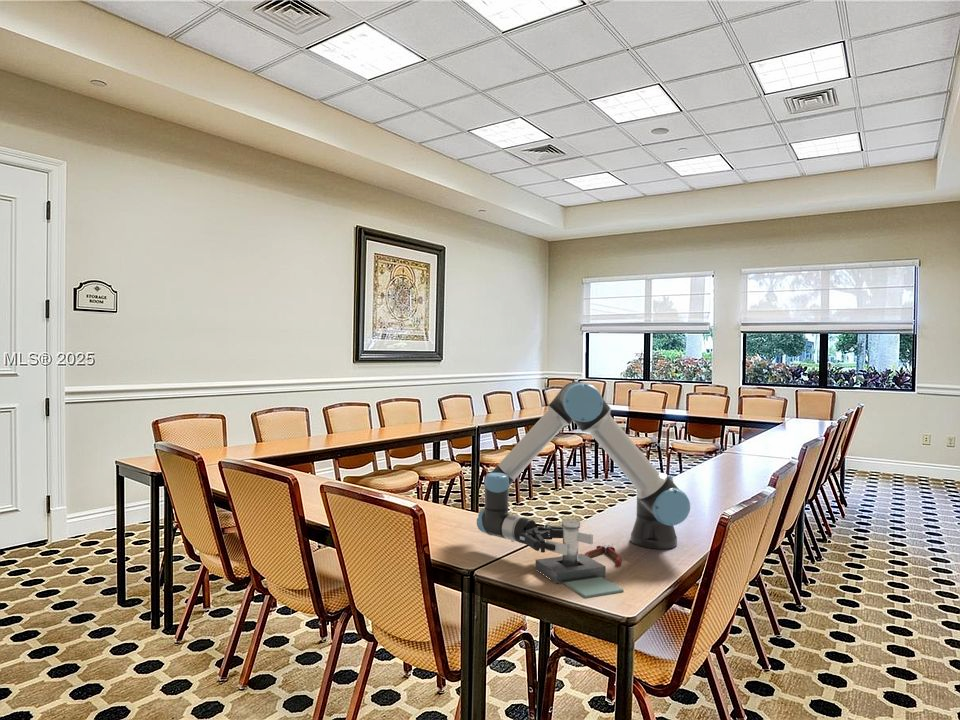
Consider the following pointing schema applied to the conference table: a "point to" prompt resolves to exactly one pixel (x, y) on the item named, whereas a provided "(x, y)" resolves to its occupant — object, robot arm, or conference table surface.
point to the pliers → (605, 549)
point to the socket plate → (570, 569)
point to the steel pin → (570, 541)
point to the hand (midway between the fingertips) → (579, 544)
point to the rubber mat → (593, 587)
